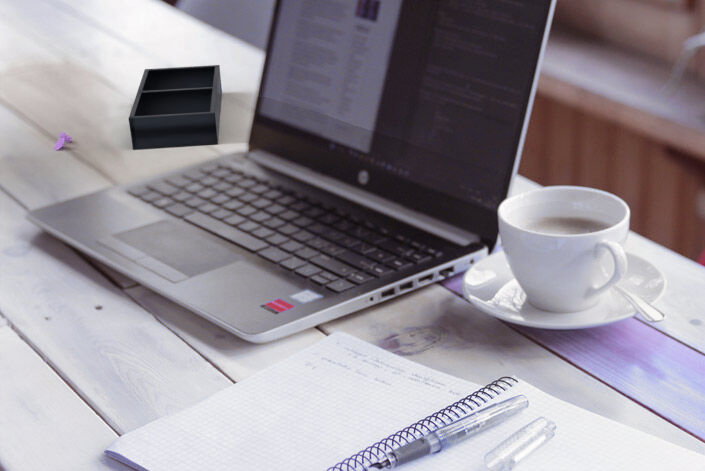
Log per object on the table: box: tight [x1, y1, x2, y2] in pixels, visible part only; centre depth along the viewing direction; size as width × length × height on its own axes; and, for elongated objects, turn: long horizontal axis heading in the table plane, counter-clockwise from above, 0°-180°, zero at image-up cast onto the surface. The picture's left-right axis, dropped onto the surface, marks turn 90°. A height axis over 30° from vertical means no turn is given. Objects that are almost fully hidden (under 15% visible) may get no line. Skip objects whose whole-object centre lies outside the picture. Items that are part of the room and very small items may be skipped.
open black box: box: [128, 64, 223, 150], centre depth 123 cm, size 10×20×4 cm, turn 6°
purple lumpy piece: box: [54, 131, 73, 151], centre depth 117 cm, size 3×2×2 cm
